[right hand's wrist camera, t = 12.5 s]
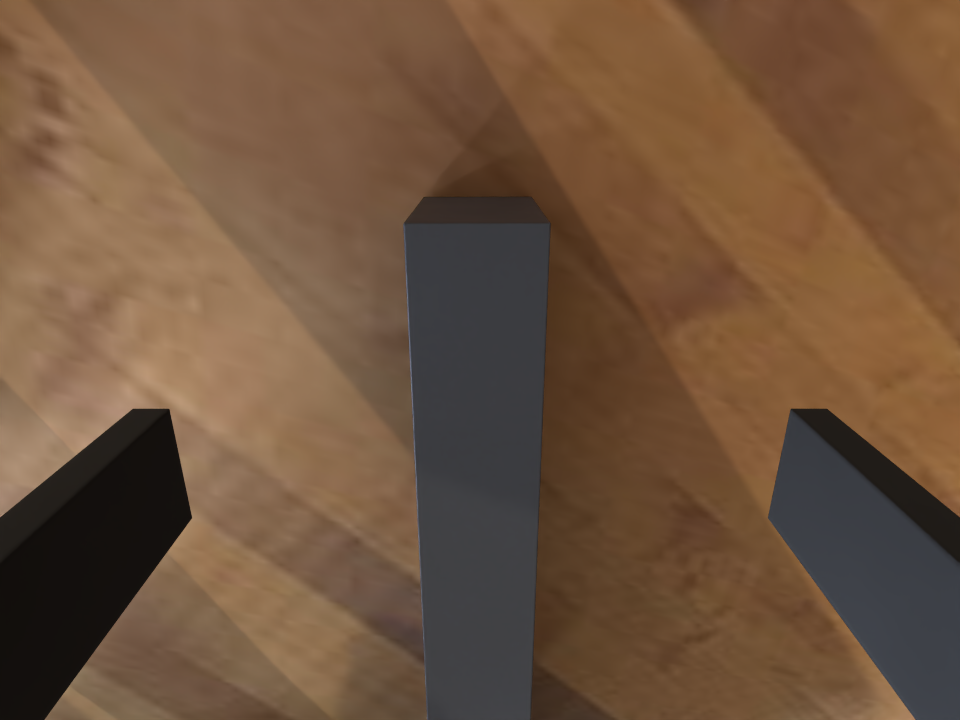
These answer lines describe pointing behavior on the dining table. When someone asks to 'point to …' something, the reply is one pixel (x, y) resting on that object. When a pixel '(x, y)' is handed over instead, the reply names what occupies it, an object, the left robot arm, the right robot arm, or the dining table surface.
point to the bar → (477, 444)
